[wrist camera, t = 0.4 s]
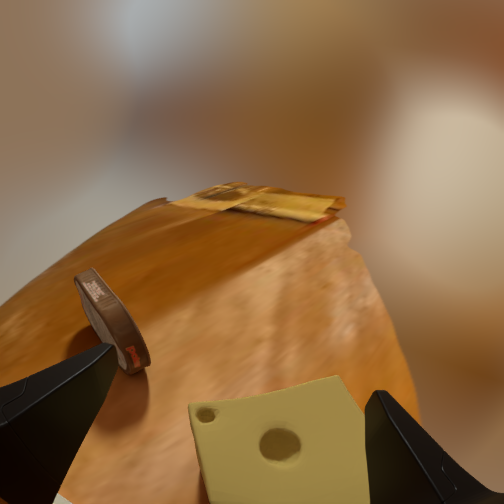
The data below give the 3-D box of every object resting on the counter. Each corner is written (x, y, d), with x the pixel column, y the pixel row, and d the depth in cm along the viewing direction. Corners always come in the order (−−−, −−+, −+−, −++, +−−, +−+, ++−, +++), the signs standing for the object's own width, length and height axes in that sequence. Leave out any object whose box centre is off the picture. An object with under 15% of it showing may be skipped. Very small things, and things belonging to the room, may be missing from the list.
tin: (158, 380, 27) (144, 316, 23) (133, 393, 25) (112, 330, 21) (101, 311, 36) (89, 256, 32) (82, 319, 33) (67, 263, 30)
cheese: (225, 569, 10) (222, 571, 6) (194, 458, 19) (180, 391, 15) (360, 528, 13) (428, 489, 8) (310, 434, 22) (341, 362, 18)
